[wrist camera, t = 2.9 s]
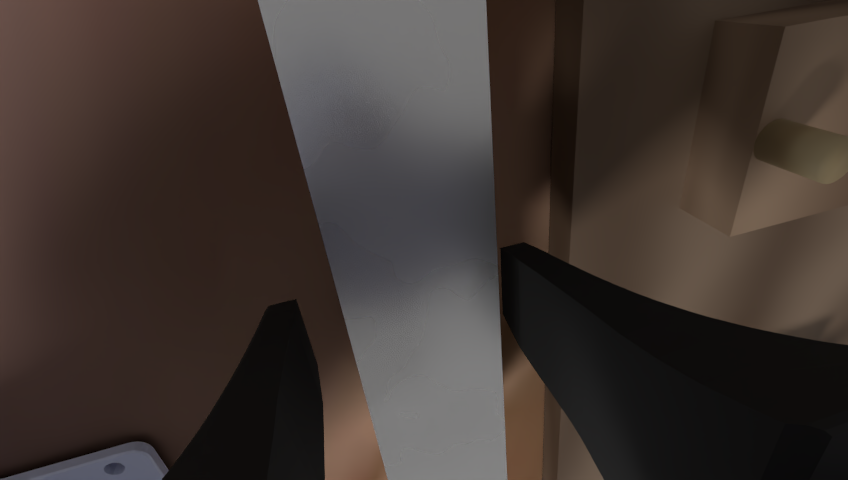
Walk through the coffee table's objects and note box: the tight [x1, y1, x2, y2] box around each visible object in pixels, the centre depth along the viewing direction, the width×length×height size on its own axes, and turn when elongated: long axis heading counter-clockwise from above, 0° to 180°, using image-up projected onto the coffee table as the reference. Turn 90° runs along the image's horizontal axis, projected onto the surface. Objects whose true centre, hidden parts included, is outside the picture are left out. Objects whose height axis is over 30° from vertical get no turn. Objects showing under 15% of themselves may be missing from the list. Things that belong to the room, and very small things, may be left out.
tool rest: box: [542, 0, 848, 480], centre depth 15 cm, size 14×24×4 cm, turn 7°
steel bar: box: [258, 0, 507, 480], centre depth 11 cm, size 16×3×5 cm, turn 7°
